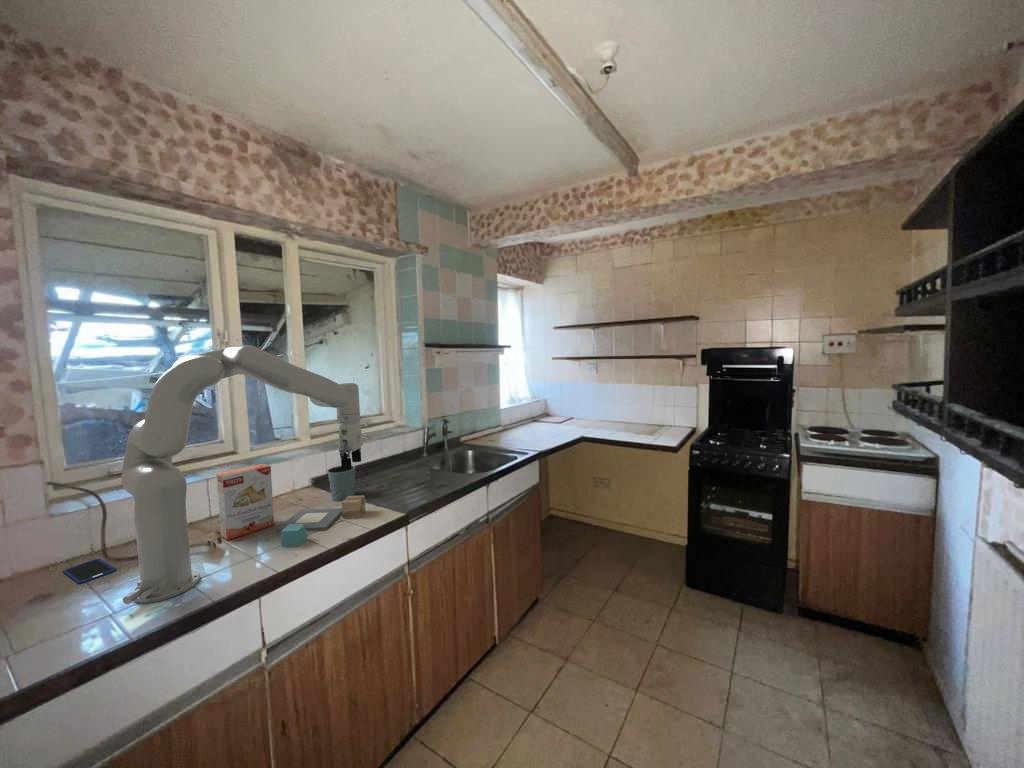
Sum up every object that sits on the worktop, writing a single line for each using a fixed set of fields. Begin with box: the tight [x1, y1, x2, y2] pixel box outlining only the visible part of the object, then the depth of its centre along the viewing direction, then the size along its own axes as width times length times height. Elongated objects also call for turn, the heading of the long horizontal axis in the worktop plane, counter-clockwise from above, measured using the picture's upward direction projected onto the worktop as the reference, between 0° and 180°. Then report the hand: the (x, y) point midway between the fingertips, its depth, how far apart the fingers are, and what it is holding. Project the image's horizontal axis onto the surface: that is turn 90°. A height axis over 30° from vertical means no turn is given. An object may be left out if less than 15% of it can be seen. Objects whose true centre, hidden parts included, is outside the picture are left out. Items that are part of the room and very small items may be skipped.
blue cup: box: [327, 464, 356, 502], centre depth 158 cm, size 10×10×12 cm
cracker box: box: [216, 463, 275, 541], centre depth 129 cm, size 14×6×21 cm, turn 144°
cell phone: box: [62, 558, 118, 585], centre depth 107 cm, size 7×14×1 cm, turn 61°
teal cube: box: [280, 524, 308, 548], centre depth 121 cm, size 5×5×5 cm
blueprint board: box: [275, 507, 342, 533], centre depth 137 cm, size 16×16×1 cm
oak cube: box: [341, 495, 366, 520], centre depth 141 cm, size 6×6×6 cm
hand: (351, 465), depth 140 cm, fingers open, 9 cm apart
